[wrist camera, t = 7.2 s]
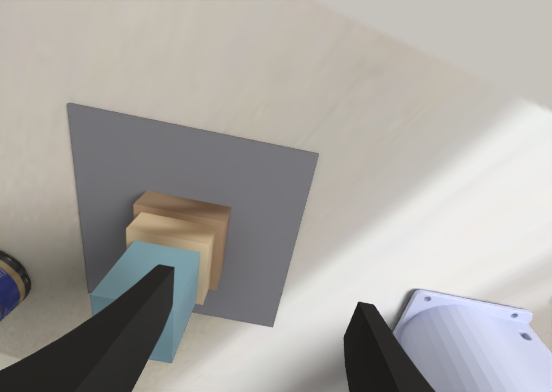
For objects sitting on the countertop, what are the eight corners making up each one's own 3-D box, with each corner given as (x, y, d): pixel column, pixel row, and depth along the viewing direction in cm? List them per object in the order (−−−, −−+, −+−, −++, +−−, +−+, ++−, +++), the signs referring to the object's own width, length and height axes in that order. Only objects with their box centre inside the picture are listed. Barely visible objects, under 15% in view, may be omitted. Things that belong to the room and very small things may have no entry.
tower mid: (217, 226, 20) (209, 244, 19) (210, 284, 23) (202, 305, 21) (141, 212, 20) (126, 228, 18) (141, 271, 22) (128, 291, 21)
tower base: (231, 207, 22) (225, 222, 20) (222, 272, 25) (216, 290, 23) (146, 190, 22) (133, 203, 20) (146, 257, 24) (134, 275, 23)
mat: (318, 153, 20) (318, 154, 20) (273, 324, 27) (272, 327, 27) (70, 102, 20) (67, 103, 19) (90, 290, 27) (88, 292, 27)
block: (200, 252, 19) (174, 309, 15) (196, 300, 21) (171, 363, 17) (134, 240, 19) (90, 294, 15) (136, 289, 21) (97, 350, 17)
